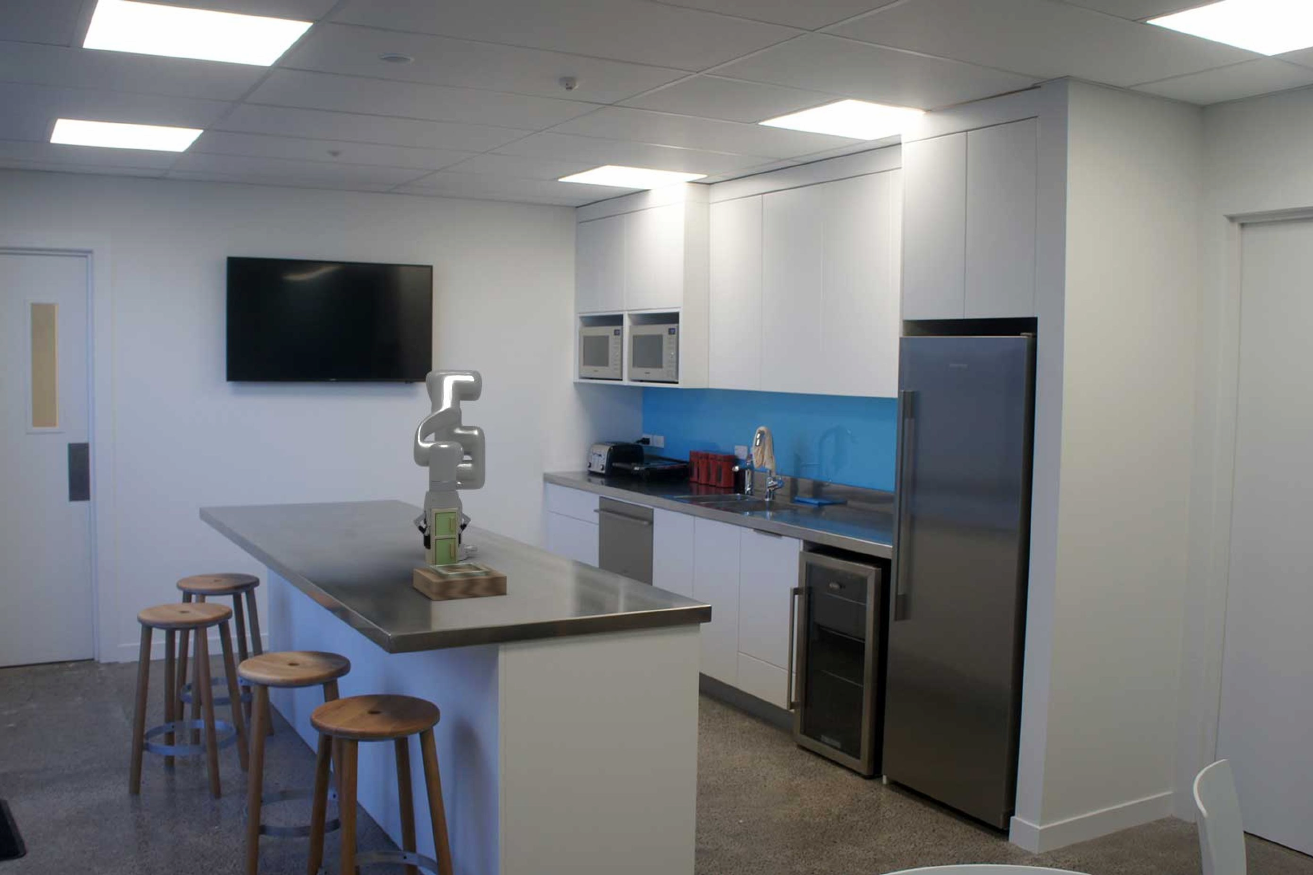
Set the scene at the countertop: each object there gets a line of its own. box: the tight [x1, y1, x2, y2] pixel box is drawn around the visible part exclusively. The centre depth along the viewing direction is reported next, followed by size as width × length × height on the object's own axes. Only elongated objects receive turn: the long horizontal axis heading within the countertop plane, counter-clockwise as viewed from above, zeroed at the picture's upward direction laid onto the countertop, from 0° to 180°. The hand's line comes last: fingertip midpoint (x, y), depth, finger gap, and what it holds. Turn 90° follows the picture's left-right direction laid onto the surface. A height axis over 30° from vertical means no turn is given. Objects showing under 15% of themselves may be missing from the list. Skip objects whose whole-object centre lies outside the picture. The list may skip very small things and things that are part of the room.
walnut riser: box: [412, 562, 508, 602], centre depth 306 cm, size 20×20×6 cm
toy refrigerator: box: [425, 508, 459, 568], centre depth 320 cm, size 8×7×21 cm
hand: (442, 547), depth 320 cm, fingers closed on toy refrigerator, 7 cm apart
